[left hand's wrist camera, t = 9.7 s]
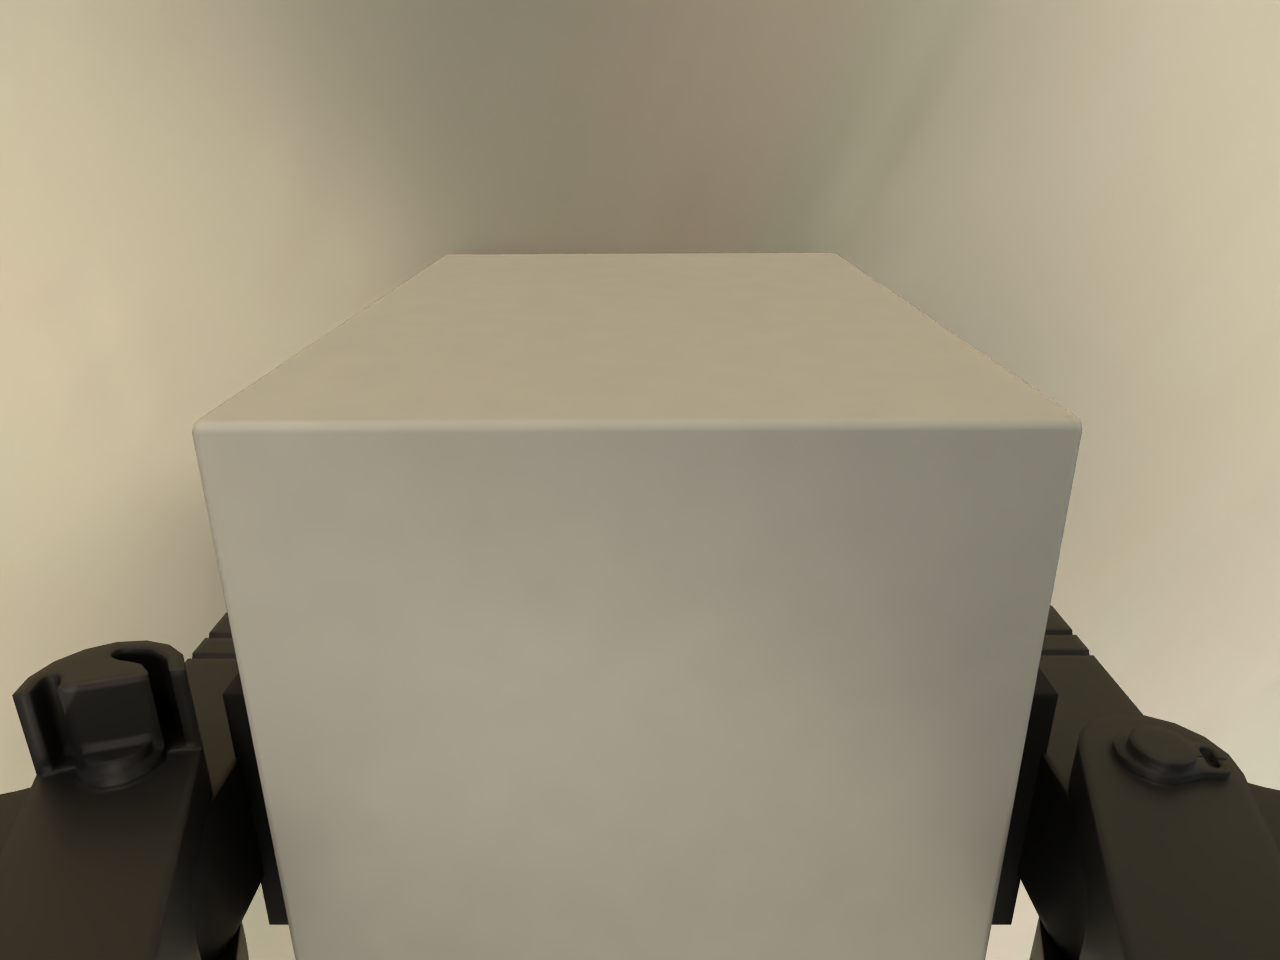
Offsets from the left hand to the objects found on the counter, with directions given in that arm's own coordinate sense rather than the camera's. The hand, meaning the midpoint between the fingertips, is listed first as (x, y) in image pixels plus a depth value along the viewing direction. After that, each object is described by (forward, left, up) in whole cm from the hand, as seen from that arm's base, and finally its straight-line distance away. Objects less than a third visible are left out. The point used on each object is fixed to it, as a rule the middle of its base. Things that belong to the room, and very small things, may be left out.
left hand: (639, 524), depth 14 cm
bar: (+31, -6, -1) cm, 31 cm away
